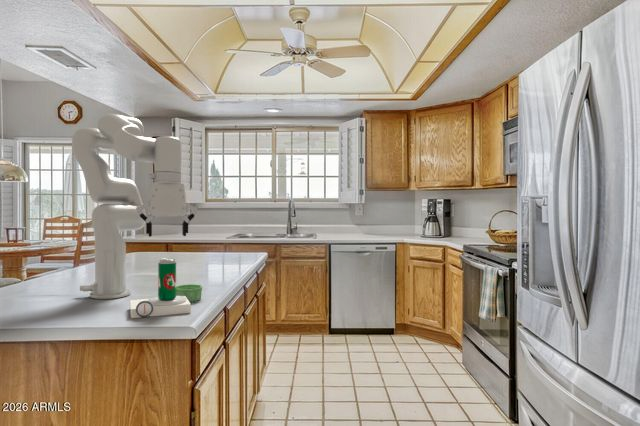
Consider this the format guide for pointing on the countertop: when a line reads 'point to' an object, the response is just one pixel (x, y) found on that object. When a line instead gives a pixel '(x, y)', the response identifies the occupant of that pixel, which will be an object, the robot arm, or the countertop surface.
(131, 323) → the countertop surface
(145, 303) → the scale
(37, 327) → the countertop surface
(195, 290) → the ramekin
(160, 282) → the soda can
